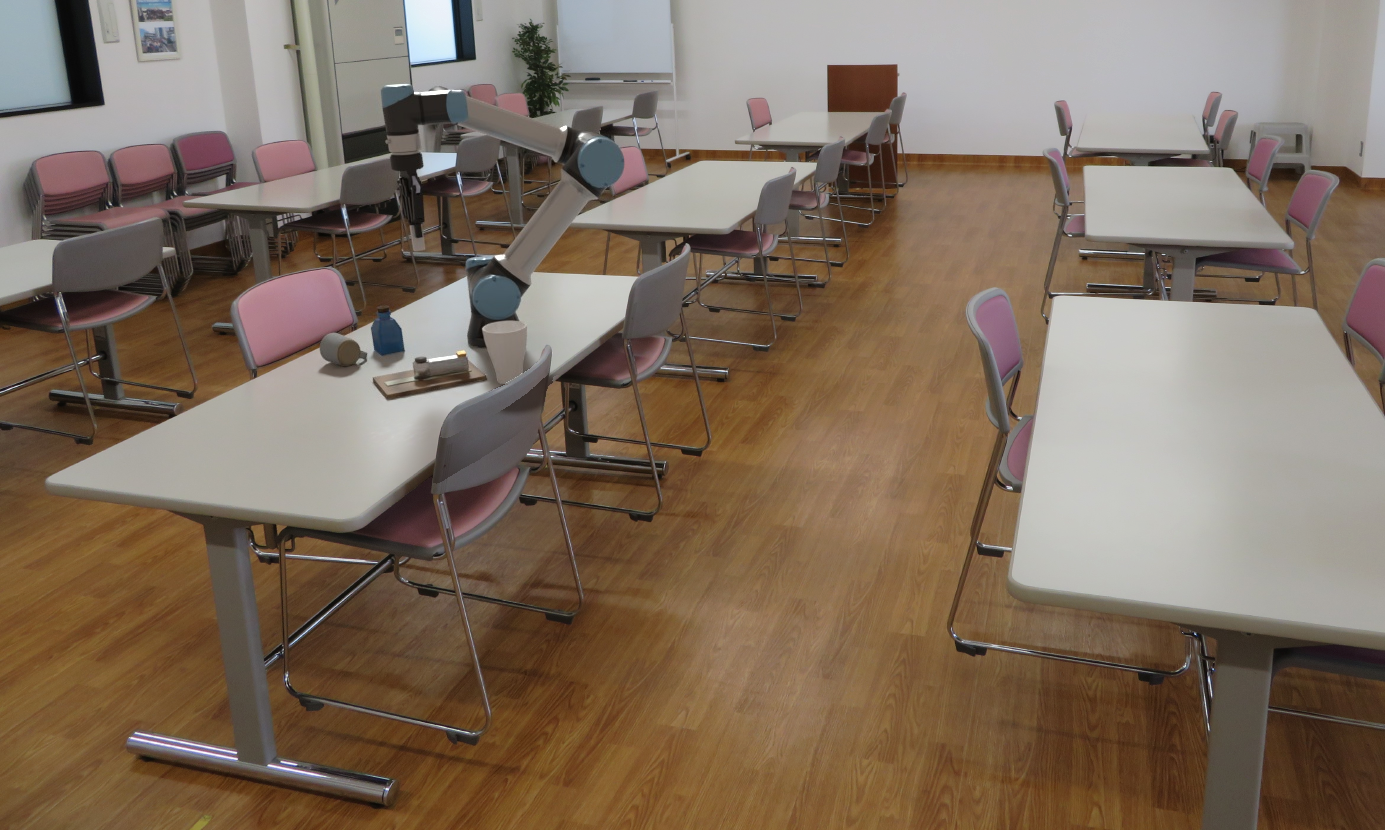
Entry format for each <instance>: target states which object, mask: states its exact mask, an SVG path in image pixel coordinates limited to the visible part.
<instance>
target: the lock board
mask: <svg viewBox="0 0 1385 830" xmlns="http://www.w3.org/2000/svg"><path fill="white" fill-rule="evenodd" d="M427 359H428V357H427V356H417V357H415V358H414V361H415V362H417V363H421V362H425V361H427ZM468 365H469V370H465V371H459V372H453V373H447V374H440V375H434V376H430V377H427V378H415V376H414V369H410V370H405V371H399V372H398V371H397V372H394V373H389V374H384V375H377V376H373V377H372V381H373V383H374V384H375V385H376V387H377V388H378V389H379V390H380V391H381V393H383V395H384V396H385V397H386V398H387V400H388V399H394V398H399V397H405V396H410V395H414V394H419V393H425V392H430V391H436V390H440V389H444V388H450V387H451V388H452V387H456V386H460V385H466V384H470V383H476V382H481V381H486V380H488V376H487V374H485V373H484V372H483V371H482V370H481V369H480V368H479V367H477V365H475V364H474V363H473V362H471V361H470V360H469V359H468Z"/></svg>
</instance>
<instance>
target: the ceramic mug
mask: <svg viewBox="0 0 1385 830" xmlns="http://www.w3.org/2000/svg"><path fill="white" fill-rule="evenodd" d="M319 352H320V355H321V357H322V358H323V359H324V360H325V361H326V362H329V363H332V364H336V365H339V366H343V367H350V366H353V365H354V364H356V363H357V362H358V360H359V359H367V358H368V357H367V356H368V352H367V351H363V350H361V347H360V344H359V343H358V342H357V341H356V340H354V339H352V338H351V337H347V336H345V335H342V334H340V333H337V332H331V333H327V334H326V335H324V337H323V338H322V340H321V341H320V343H319Z"/></svg>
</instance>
